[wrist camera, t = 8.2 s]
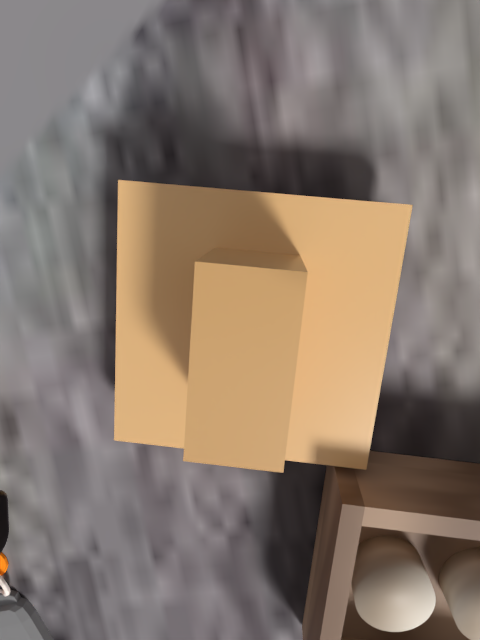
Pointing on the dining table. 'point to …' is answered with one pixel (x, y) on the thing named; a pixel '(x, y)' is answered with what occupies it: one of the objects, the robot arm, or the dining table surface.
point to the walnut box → (397, 552)
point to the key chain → (18, 613)
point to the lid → (253, 322)
